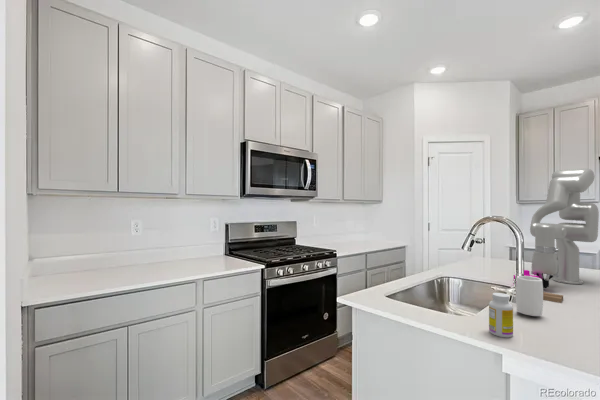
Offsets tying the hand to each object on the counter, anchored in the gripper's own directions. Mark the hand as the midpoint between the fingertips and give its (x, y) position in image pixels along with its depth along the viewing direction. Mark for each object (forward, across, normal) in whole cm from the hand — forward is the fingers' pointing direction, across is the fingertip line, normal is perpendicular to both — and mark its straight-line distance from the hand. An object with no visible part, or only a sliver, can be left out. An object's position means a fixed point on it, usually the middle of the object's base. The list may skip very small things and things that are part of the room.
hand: (544, 287), depth 154 cm
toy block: (+2, +8, 0) cm, 8 cm away
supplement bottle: (+1, 0, +73) cm, 73 cm away
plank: (+1, 0, +15) cm, 15 cm away
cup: (+1, -3, +46) cm, 46 cm away
